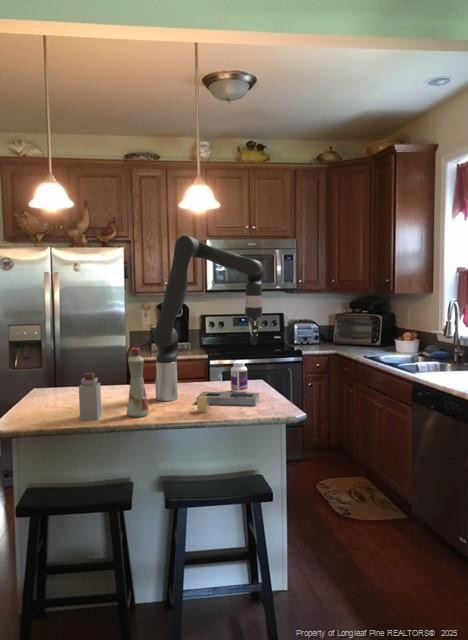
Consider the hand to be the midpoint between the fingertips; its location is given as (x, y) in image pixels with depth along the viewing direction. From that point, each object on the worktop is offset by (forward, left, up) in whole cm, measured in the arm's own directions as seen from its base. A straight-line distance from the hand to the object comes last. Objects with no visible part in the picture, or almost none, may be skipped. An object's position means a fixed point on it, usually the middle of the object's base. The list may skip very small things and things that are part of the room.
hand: (253, 343), depth 223 cm
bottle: (-44, -26, -27) cm, 58 cm away
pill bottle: (-11, +23, -27) cm, 37 cm away
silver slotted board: (-12, +1, -26) cm, 29 cm away
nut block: (-19, -17, -26) cm, 37 cm away
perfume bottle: (-61, -33, -27) cm, 74 cm away
